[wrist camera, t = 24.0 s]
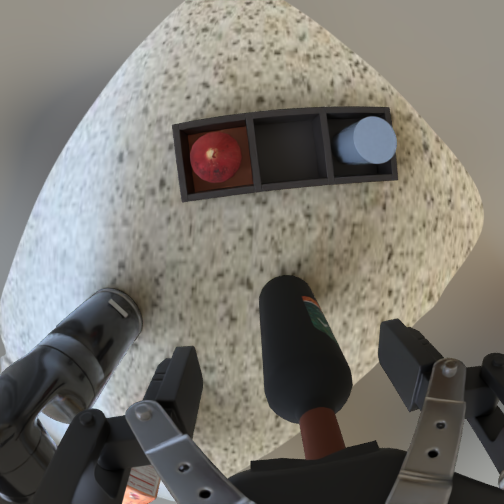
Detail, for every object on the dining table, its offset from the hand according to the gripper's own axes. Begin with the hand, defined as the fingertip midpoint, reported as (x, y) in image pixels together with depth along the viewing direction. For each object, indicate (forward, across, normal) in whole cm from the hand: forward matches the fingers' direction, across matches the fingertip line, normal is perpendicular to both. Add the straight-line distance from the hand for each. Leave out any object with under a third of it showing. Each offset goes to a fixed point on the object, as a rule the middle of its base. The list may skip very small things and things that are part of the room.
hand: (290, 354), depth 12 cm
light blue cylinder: (+28, -12, -10) cm, 32 cm away
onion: (+28, +4, -10) cm, 30 cm away
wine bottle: (+28, -2, +10) cm, 30 cm away
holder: (+28, -4, -10) cm, 30 cm away
